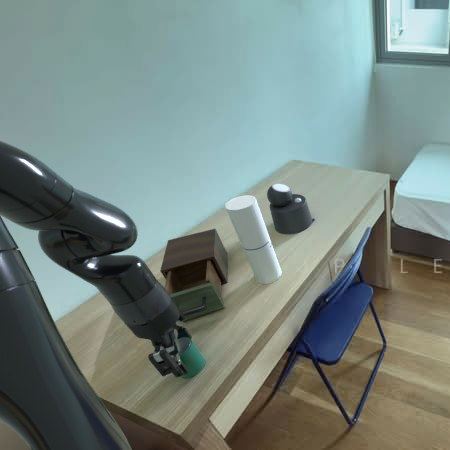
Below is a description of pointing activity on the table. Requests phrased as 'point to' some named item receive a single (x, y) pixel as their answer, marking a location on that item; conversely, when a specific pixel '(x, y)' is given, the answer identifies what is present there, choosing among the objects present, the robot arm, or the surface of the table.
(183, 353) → the can
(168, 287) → the drawer
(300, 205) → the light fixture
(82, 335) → the table surface
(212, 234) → the cabinet
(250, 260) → the cylindrical container
